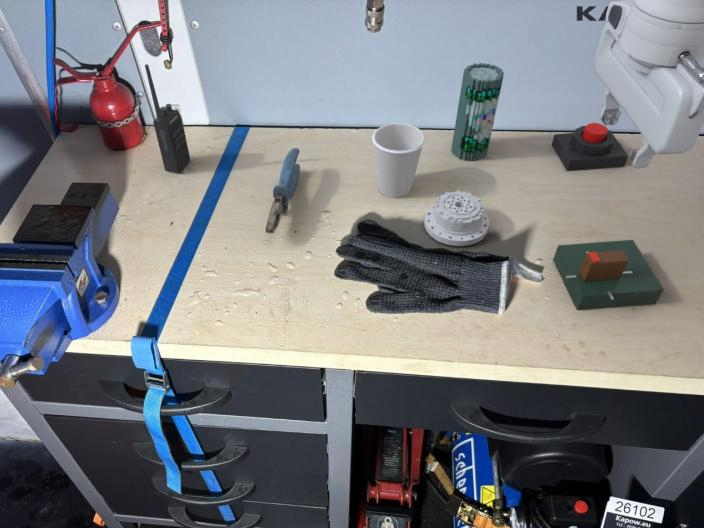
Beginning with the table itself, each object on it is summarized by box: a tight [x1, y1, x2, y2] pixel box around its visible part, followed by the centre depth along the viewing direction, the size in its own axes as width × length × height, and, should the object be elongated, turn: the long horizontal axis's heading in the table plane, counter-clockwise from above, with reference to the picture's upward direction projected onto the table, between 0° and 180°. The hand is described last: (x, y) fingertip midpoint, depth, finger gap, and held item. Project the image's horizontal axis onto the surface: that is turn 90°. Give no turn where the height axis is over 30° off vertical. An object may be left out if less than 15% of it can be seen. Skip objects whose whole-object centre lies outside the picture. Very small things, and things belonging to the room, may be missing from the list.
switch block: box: [551, 125, 629, 172], centre depth 105 cm, size 10×8×4 cm
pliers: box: [265, 147, 301, 234], centre depth 99 cm, size 20×2×6 cm, turn 168°
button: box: [582, 122, 609, 143], centre depth 103 cm, size 4×4×2 cm
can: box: [450, 62, 505, 162], centre depth 104 cm, size 6×6×15 cm
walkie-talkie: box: [144, 63, 191, 174], centre depth 103 cm, size 5×3×20 cm
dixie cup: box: [371, 122, 426, 199], centre depth 100 cm, size 8×8×10 cm
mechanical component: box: [423, 189, 490, 247], centre depth 94 cm, size 10×4×10 cm
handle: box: [579, 251, 629, 281], centre depth 82 cm, size 5×2×4 cm, turn 93°
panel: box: [552, 239, 665, 311], centre depth 85 cm, size 12×11×3 cm
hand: (622, 142), depth 76 cm, fingers open, 8 cm apart
